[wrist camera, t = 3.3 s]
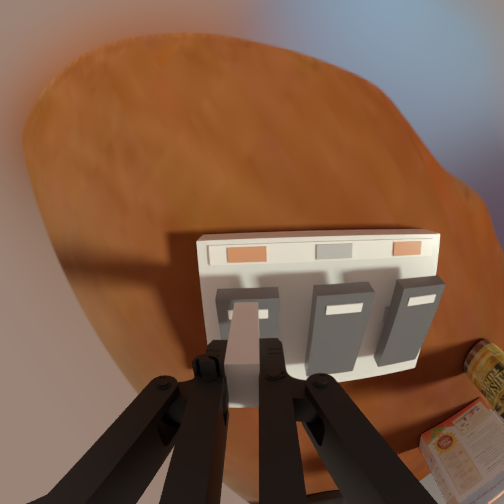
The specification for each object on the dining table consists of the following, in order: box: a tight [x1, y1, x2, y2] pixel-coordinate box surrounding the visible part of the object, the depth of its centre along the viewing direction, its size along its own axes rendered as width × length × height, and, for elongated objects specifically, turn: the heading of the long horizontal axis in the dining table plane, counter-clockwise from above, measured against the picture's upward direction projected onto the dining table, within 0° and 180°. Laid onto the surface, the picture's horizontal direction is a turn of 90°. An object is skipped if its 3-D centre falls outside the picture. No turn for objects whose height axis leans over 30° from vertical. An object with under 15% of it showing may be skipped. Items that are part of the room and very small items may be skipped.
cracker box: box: [419, 397, 504, 504], centre depth 22 cm, size 14×6×21 cm, turn 110°
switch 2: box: [374, 275, 445, 367], centre depth 21 cm, size 9×4×2 cm, turn 3°
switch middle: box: [304, 282, 375, 377], centre depth 21 cm, size 9×4×2 cm, turn 3°
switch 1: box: [215, 287, 280, 340], centre depth 21 cm, size 9×4×2 cm, turn 3°
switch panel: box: [196, 229, 440, 382], centre depth 24 cm, size 15×22×4 cm
